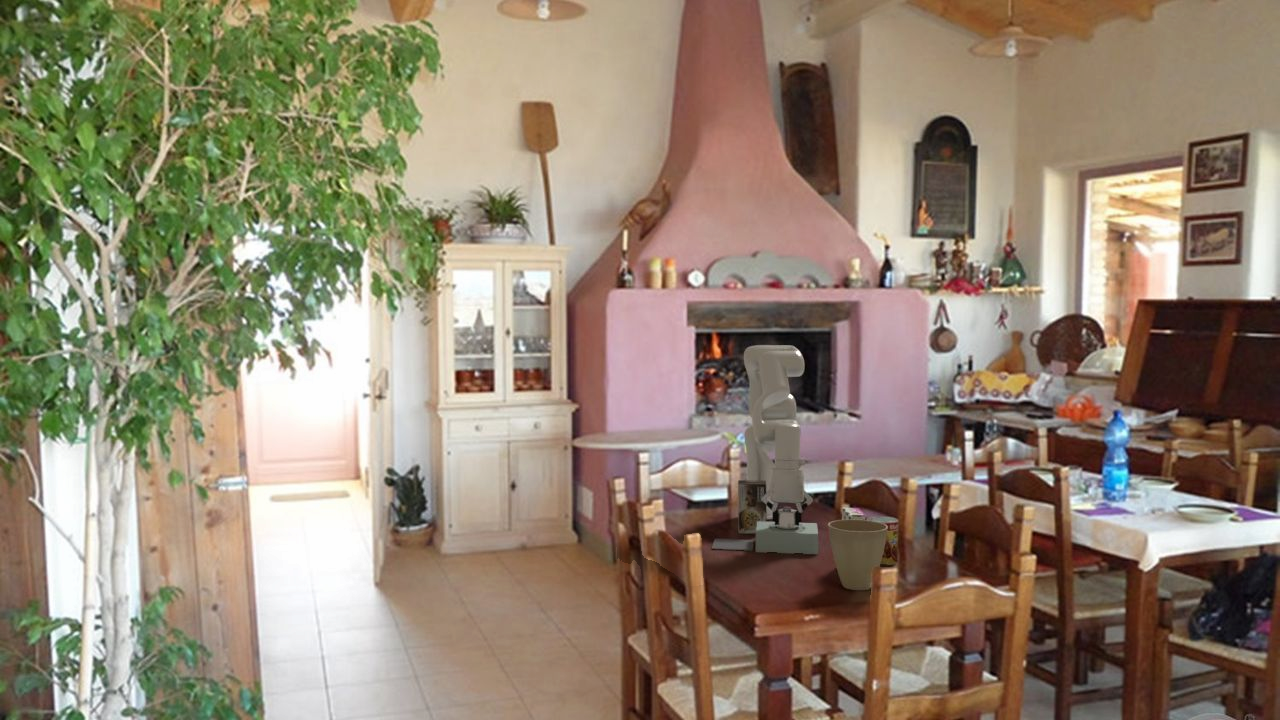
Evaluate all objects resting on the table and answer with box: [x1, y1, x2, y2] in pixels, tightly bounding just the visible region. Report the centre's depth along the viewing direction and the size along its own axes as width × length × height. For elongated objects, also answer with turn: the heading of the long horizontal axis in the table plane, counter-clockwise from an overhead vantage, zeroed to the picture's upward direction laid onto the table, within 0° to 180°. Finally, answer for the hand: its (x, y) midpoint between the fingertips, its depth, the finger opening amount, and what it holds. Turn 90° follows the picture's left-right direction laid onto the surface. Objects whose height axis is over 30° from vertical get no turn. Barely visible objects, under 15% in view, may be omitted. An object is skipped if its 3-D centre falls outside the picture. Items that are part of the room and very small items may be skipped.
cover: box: [777, 506, 797, 530], centre depth 285 cm, size 6×6×10 cm
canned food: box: [869, 515, 899, 566], centre depth 269 cm, size 8×8×12 cm
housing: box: [755, 521, 819, 555], centre depth 285 cm, size 14×18×6 cm
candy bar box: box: [841, 507, 868, 520], centre depth 259 cm, size 11×5×16 cm, turn 178°
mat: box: [711, 538, 755, 552], centre depth 287 cm, size 12×12×1 cm
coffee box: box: [737, 479, 768, 534], centre depth 305 cm, size 9×6×16 cm
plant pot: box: [827, 519, 888, 591], centre depth 244 cm, size 15×15×16 cm
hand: (786, 523), depth 285 cm, fingers closed on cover, 5 cm apart
